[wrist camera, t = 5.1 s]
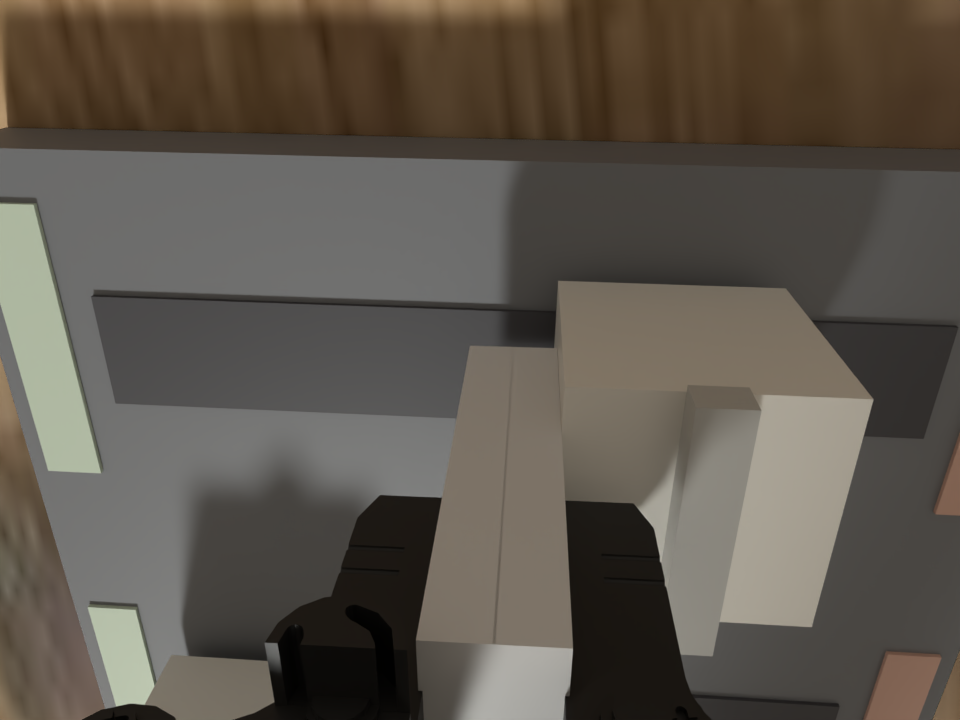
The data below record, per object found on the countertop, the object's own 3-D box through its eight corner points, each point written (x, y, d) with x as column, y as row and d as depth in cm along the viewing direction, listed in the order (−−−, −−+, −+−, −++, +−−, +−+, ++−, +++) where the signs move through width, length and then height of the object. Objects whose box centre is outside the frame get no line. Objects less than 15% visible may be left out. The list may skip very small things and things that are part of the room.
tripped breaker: (747, 480, 15) (823, 663, 11) (546, 470, 16) (549, 646, 12) (787, 283, 14) (893, 415, 9) (558, 275, 14) (566, 403, 10)
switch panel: (856, 774, 23) (885, 846, 21) (159, 726, 24) (127, 791, 22) (1072, 152, 15) (1151, 177, 13) (6, 127, 16) (-67, 148, 14)
